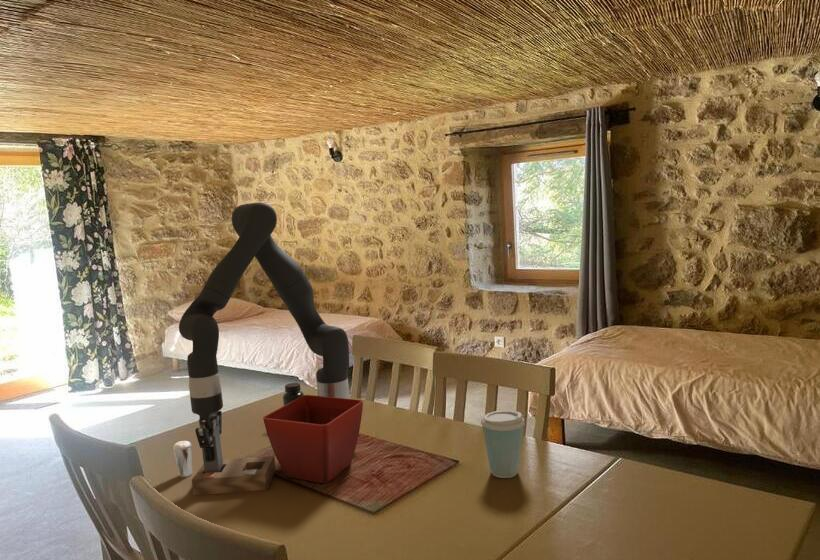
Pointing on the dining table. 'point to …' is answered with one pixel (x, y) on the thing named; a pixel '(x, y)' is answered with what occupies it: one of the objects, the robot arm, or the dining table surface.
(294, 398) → the supplement bottle
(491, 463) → the disposable coffee cup
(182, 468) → the milkshake
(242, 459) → the port deck
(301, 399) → the plant pot
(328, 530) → the dining table surface
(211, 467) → the plug
